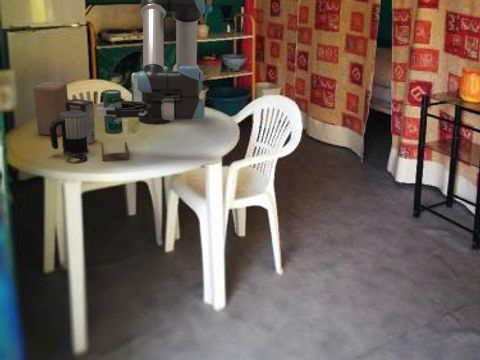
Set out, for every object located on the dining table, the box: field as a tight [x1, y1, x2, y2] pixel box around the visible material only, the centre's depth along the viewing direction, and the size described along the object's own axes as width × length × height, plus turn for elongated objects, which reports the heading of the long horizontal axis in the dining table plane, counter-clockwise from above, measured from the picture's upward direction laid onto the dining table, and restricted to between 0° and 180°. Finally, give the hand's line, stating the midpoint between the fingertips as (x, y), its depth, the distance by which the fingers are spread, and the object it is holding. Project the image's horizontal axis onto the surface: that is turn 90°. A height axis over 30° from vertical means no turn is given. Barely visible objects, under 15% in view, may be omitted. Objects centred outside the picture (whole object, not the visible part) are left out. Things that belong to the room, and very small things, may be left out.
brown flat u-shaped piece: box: [100, 141, 130, 162], centre depth 229 cm, size 10×14×2 cm
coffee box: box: [66, 98, 96, 145], centre depth 241 cm, size 9×6×16 cm
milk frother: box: [49, 111, 89, 161], centre depth 226 cm, size 14×16×15 cm
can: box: [102, 89, 124, 135], centre depth 224 cm, size 6×6×15 cm
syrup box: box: [130, 72, 142, 102], centre depth 298 cm, size 6×6×14 cm
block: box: [33, 81, 69, 137], centre depth 250 cm, size 10×10×20 cm
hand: (98, 109), depth 223 cm, fingers closed on can, 6 cm apart
